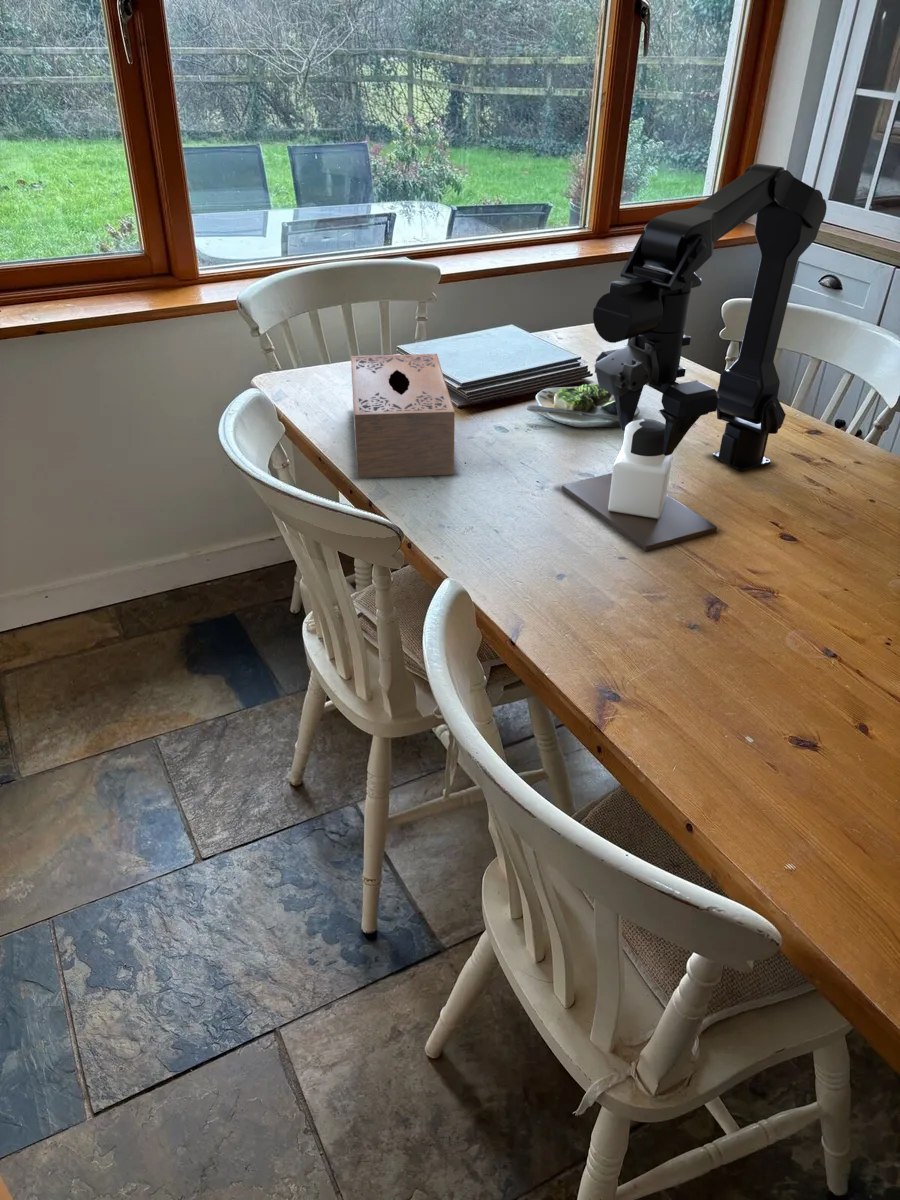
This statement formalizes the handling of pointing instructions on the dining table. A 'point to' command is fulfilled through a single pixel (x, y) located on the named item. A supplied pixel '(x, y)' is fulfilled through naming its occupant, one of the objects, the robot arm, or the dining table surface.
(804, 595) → the dining table surface
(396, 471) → the tissue box cover
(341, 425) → the dining table surface
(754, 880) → the dining table surface
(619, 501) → the medicine bottle
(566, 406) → the salad plate
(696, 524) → the walnut mat
